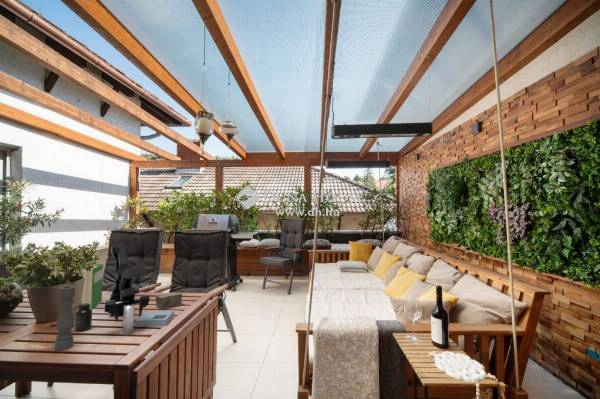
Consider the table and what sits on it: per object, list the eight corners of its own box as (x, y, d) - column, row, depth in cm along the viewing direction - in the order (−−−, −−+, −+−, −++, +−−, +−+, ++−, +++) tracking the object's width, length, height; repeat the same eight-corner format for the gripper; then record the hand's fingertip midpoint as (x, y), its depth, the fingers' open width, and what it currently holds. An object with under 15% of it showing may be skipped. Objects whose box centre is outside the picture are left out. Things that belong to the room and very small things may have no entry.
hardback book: (92, 309, 177) (94, 268, 178) (78, 310, 174) (80, 269, 176) (101, 301, 193) (103, 264, 195) (88, 302, 191) (89, 264, 192)
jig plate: (134, 326, 149) (134, 320, 149) (145, 316, 164) (146, 311, 164) (165, 325, 151) (166, 319, 151) (174, 315, 166) (174, 310, 166)
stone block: (157, 311, 174) (158, 298, 175) (155, 307, 182) (155, 294, 182) (182, 307, 182) (183, 294, 183) (179, 303, 190) (179, 291, 190)
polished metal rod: (120, 335, 138) (122, 307, 139) (125, 331, 143) (126, 304, 144) (131, 335, 139) (132, 306, 140) (134, 331, 143) (136, 304, 144)
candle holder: (61, 344, 128) (64, 285, 130) (76, 344, 129) (79, 285, 130) (50, 351, 122) (53, 289, 124) (66, 350, 123) (69, 289, 124)
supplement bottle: (94, 327, 148) (95, 303, 148) (80, 332, 141) (82, 307, 142) (85, 326, 150) (86, 301, 151) (70, 330, 144) (72, 305, 144)
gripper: (106, 283, 140) (107, 313, 130) (149, 279, 151) (153, 306, 142) (103, 297, 146) (104, 327, 136) (146, 291, 157) (149, 318, 148)
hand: (129, 319), depth 140 cm, fingers open, 9 cm apart
